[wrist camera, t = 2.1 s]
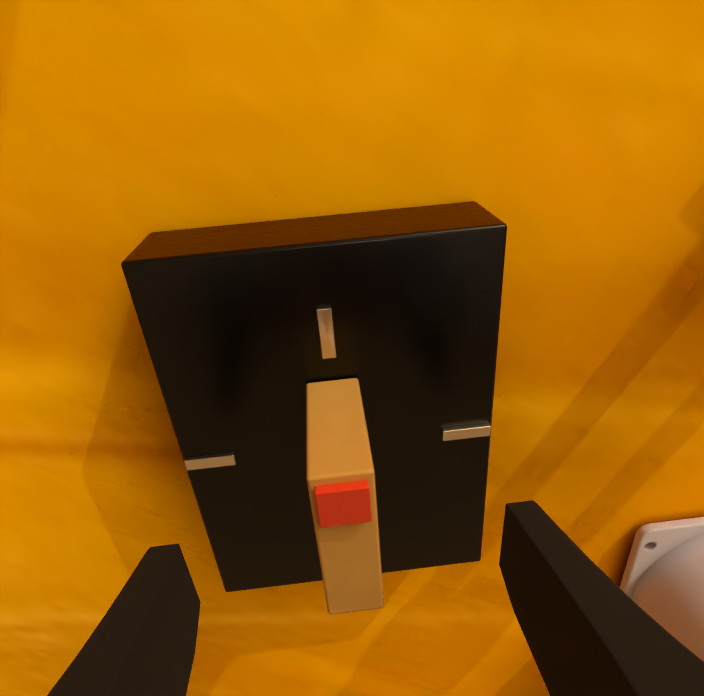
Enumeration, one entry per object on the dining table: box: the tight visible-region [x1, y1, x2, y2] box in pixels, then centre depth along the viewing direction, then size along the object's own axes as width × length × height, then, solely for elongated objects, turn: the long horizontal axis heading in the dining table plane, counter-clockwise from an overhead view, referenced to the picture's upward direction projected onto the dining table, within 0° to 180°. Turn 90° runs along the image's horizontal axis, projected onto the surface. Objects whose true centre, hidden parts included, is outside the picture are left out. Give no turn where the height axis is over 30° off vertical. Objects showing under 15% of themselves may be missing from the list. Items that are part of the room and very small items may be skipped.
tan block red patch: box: [306, 378, 384, 614], centre depth 13 cm, size 5×1×4 cm, turn 4°
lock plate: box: [121, 201, 507, 592], centre depth 15 cm, size 12×9×3 cm
